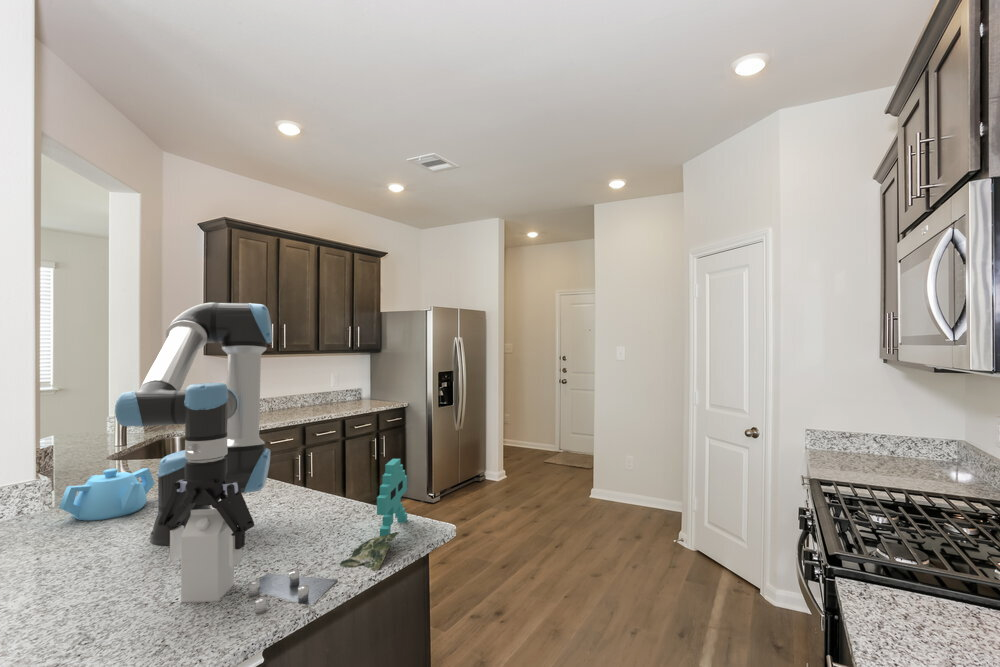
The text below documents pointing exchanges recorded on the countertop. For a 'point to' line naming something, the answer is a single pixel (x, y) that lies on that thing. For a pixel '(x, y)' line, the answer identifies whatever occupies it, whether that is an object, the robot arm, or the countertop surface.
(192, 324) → the robot arm
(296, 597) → the plate
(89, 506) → the teapot
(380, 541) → the topographical model
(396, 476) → the alien figure
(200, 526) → the milk carton
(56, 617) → the countertop surface
